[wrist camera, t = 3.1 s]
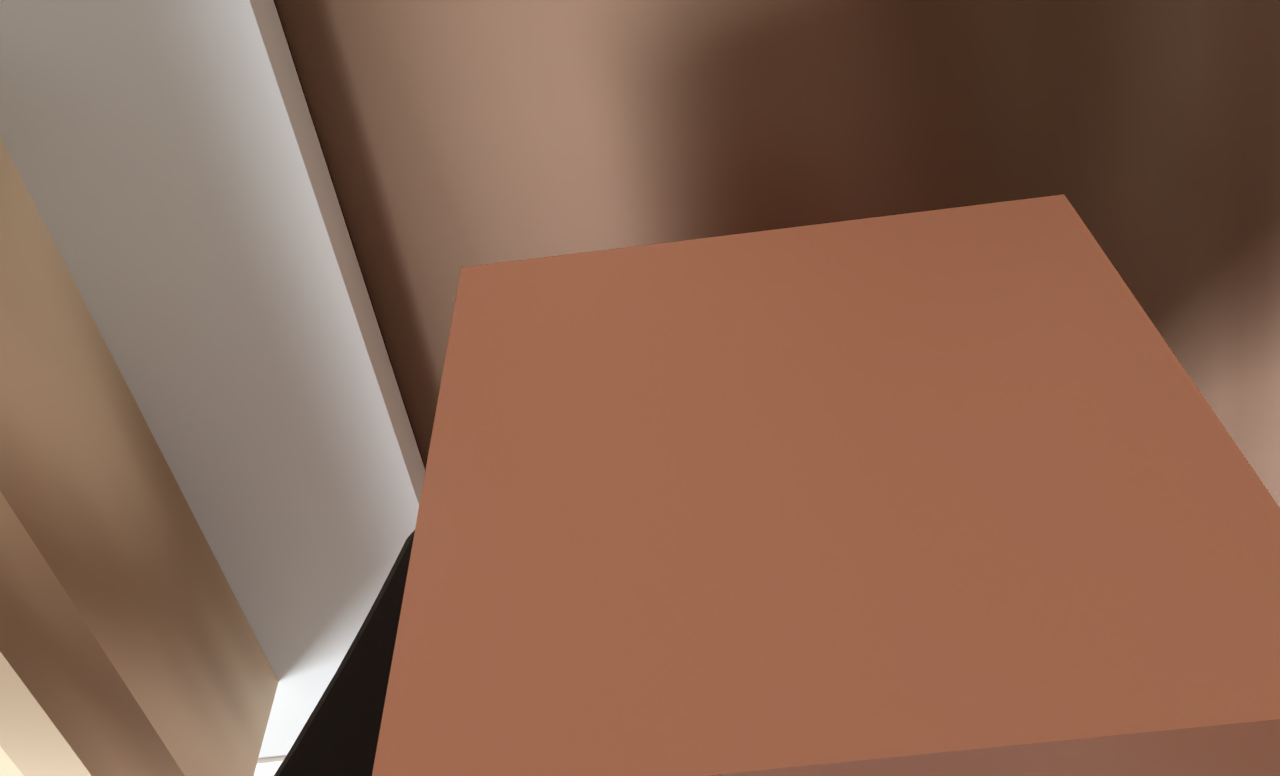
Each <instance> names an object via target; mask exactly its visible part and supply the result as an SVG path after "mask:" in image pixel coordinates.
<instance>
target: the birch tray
mask: <svg viewBox="0 0 1280 776" xmlns="http://www.w3.org/2000/svg"><path fill="white" fill-rule="evenodd" d="M278 682H279V681H278V679H277V677H276V675H275V673H274V671H273V669H272V667H271V665H270V663H269V662H268V660H267V658H266V656H265V654H264V652H263V650H262V648H261V646H260V644H259V642H258V640H257V638H256V636H255V634H254V632H253V630H252V628H251V626H250V624H249V622H248V620H247V618H246V617H245V615H244V613H243V611H242V609H241V607H240V605H239V603H238V601H237V599H236V597H235V595H234V593H233V591H232V589H231V587H230V585H229V583H228V581H227V579H226V577H225V575H224V574H223V572H222V570H221V568H220V566H219V564H218V562H217V560H216V558H215V556H214V554H213V552H212V550H211V548H210V546H209V544H208V542H207V540H206V538H205V536H204V534H203V532H202V531H201V529H200V527H199V525H198V523H197V521H196V519H195V517H194V515H193V513H192V511H191V509H190V507H189V505H188V503H187V501H186V499H185V497H184V495H183V493H182V491H181V489H180V487H179V486H178V484H177V482H176V480H175V478H174V476H173V474H172V472H171V470H170V468H169V466H168V464H167V462H166V460H165V458H164V456H163V454H162V452H161V450H160V448H159V446H158V444H157V443H156V441H155V439H154V437H153V435H152V433H151V431H150V429H149V427H148V425H147V423H146V421H145V419H144V417H143V415H142V413H141V411H140V409H139V407H138V405H137V403H136V401H135V399H134V398H133V396H132V394H131V392H130V390H129V388H128V386H127V384H126V382H125V380H124V378H123V376H122V374H121V372H120V370H119V368H118V366H117V364H116V362H115V360H114V358H113V356H112V355H111V353H110V351H109V349H108V347H107V345H106V343H105V341H104V339H103V337H102V335H101V333H100V331H99V329H98V327H97V325H96V323H95V321H94V319H93V317H92V315H91V313H90V311H89V310H88V308H87V306H86V304H85V302H84V300H83V298H82V296H81V294H80V292H79V290H78V288H77V286H76V284H75V282H74V280H73V278H72V276H71V274H70V272H69V270H68V268H67V267H66V265H65V263H64V261H63V259H62V257H61V255H60V253H59V251H58V249H57V247H56V245H55V243H54V241H53V239H52V237H51V235H50V233H49V231H48V229H47V227H46V225H45V223H44V222H43V220H42V218H41V216H40V214H39V212H38V210H37V208H36V206H35V204H34V202H33V200H32V198H31V196H30V194H29V192H28V190H27V188H26V186H25V184H24V182H23V180H22V179H21V177H20V175H19V173H18V171H17V169H16V167H15V165H14V163H13V161H12V159H11V157H10V155H9V153H8V151H7V149H6V147H5V145H4V143H3V141H2V139H1V137H0V776H254V772H255V768H256V765H257V761H258V757H259V753H260V750H261V746H262V742H263V738H264V735H265V731H266V727H267V723H268V720H269V716H270V712H271V708H272V705H273V701H274V697H275V693H276V689H277V686H278Z"/></svg>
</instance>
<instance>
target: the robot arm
mask: <svg viewBox="0 0 1280 776" xmlns="http://www.w3.org/2000/svg"><path fill="white" fill-rule="evenodd" d="M414 533H415V530H414V531H413V532H412V533H411V534H410V536H409V537H408V538H407V539H406V541H405V543H404V545H403V547H402V549H401V551H400V553H399V555H398V557H397V559H396V561H395V563H394V565H393V567H392V569H391V571H390V573H389V575H388V577H387V579H386V581H385V583H384V584H383V586H382V588H381V590H380V592H379V594H378V596H377V598H376V600H375V602H374V604H373V606H372V607H371V609H370V611H369V613H368V615H367V617H366V619H365V621H364V622H363V624H362V626H361V628H360V630H359V632H358V633H357V635H356V637H355V639H354V641H353V642H352V644H351V646H350V648H349V650H348V651H347V653H346V655H345V657H344V659H343V660H342V662H341V664H340V666H339V668H338V669H337V671H336V673H335V675H334V676H333V678H332V680H331V681H330V683H329V685H328V687H327V688H326V690H325V692H324V693H323V695H322V697H321V698H320V700H319V702H318V703H317V705H316V707H315V709H314V710H313V712H312V714H311V715H310V717H309V719H308V720H307V722H306V724H305V725H304V727H303V729H302V731H301V732H300V734H299V736H298V737H297V739H296V741H295V742H294V744H293V746H292V747H291V749H290V751H289V752H288V754H287V756H286V757H285V759H284V760H283V762H282V764H281V765H280V767H279V768H278V770H277V772H276V773H275V775H274V776H372V772H373V767H374V761H375V755H376V750H377V744H378V738H379V732H380V727H381V721H382V715H383V710H384V704H385V698H386V693H387V687H388V681H389V676H390V670H391V664H392V658H393V653H394V647H395V641H396V636H397V630H398V624H399V619H400V613H401V607H402V601H403V596H404V590H405V584H406V579H407V573H408V567H409V562H410V556H411V550H412V545H413V539H414Z"/></svg>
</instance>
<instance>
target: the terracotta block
mask: <svg viewBox="0 0 1280 776" xmlns="http://www.w3.org/2000/svg"><path fill="white" fill-rule="evenodd" d="M372 776H1280V508H1279V506H1278V505H1277V504H1276V502H1275V501H1274V499H1273V498H1272V496H1271V495H1270V493H1269V492H1268V490H1267V489H1266V488H1265V486H1264V485H1263V483H1262V482H1261V480H1260V479H1259V477H1258V476H1257V474H1256V473H1255V471H1254V470H1253V469H1252V467H1251V466H1250V464H1249V463H1248V461H1247V460H1246V458H1245V457H1244V455H1243V454H1242V453H1241V451H1240V450H1239V448H1238V447H1237V445H1236V444H1235V442H1234V441H1233V439H1232V438H1231V437H1230V435H1229V434H1228V432H1227V431H1226V429H1225V428H1224V426H1223V425H1222V423H1221V422H1220V420H1219V419H1218V418H1217V416H1216V415H1215V413H1214V412H1213V410H1212V409H1211V407H1210V406H1209V404H1208V403H1207V402H1206V400H1205V399H1204V397H1203V396H1202V394H1201V393H1200V391H1199V390H1198V388H1197V387H1196V386H1195V384H1194V383H1193V381H1192V380H1191V378H1190V377H1189V375H1188V374H1187V372H1186V371H1185V369H1184V368H1183V367H1182V365H1181V364H1180V362H1179V361H1178V359H1177V358H1176V356H1175V355H1174V353H1173V352H1172V351H1171V349H1170V348H1169V346H1168V345H1167V343H1166V342H1165V340H1164V339H1163V337H1162V336H1161V335H1160V333H1159V332H1158V330H1157V329H1156V327H1155V326H1154V324H1153V323H1152V321H1151V320H1150V318H1149V317H1148V316H1147V314H1146V313H1145V311H1144V310H1143V308H1142V307H1141V305H1140V304H1139V302H1138V301H1137V300H1136V298H1135V297H1134V295H1133V294H1132V292H1131V291H1130V289H1129V288H1128V286H1127V285H1126V284H1125V282H1124V281H1123V279H1122V278H1121V276H1120V275H1119V273H1118V272H1117V270H1116V269H1115V267H1114V266H1113V265H1112V263H1111V262H1110V260H1109V259H1108V257H1107V256H1106V254H1105V253H1104V251H1103V250H1102V249H1101V247H1100V246H1099V244H1098V243H1097V241H1096V240H1095V238H1094V237H1093V235H1092V234H1091V233H1090V231H1089V230H1088V228H1087V227H1086V225H1085V224H1084V222H1083V221H1082V219H1081V218H1080V216H1079V215H1078V214H1077V212H1076V211H1075V209H1074V208H1073V206H1072V205H1071V203H1070V202H1069V200H1068V199H1067V198H1066V196H1065V195H1064V194H1063V195H1055V196H1047V197H1038V198H1030V199H1022V200H1014V201H1005V202H997V203H989V204H981V205H972V206H964V207H956V208H948V209H939V210H931V211H923V212H915V213H906V214H898V215H890V216H882V217H873V218H865V219H857V220H849V221H841V222H832V223H824V224H816V225H808V226H799V227H791V228H783V229H775V230H766V231H758V232H750V233H742V234H733V235H725V236H717V237H709V238H700V239H692V240H684V241H676V242H667V243H659V244H651V245H643V246H634V247H626V248H618V249H610V250H601V251H593V252H585V253H577V254H568V255H560V256H552V257H544V258H536V259H527V260H519V261H511V262H503V263H494V264H486V265H478V266H470V267H461V271H460V277H459V283H458V288H457V294H456V300H455V305H454V311H453V317H452V322H451V328H450V334H449V339H448V345H447V351H446V357H445V362H444V368H443V374H442V379H441V385H440V391H439V396H438V402H437V408H436V414H435V419H434V425H433V431H432V436H431V442H430V448H429V453H428V459H427V465H426V470H425V476H424V482H423V488H422V493H421V499H420V505H419V510H418V516H417V522H416V527H415V533H414V539H413V545H412V550H411V556H410V562H409V567H408V573H407V579H406V584H405V590H404V596H403V601H402V607H401V613H400V619H399V624H398V630H397V636H396V641H395V647H394V653H393V658H392V664H391V670H390V676H389V681H388V687H387V693H386V698H385V704H384V710H383V715H382V721H381V727H380V732H379V738H378V744H377V750H376V755H375V761H374V767H373V772H372Z"/></svg>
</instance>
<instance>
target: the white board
mask: <svg viewBox="0 0 1280 776" xmlns="http://www.w3.org/2000/svg"><path fill="white" fill-rule="evenodd" d="M0 137H1V139H2V141H3V143H4V145H5V147H6V149H7V151H8V153H9V155H10V157H11V159H12V161H13V163H14V165H15V167H16V169H17V171H18V173H19V175H20V177H21V179H22V180H23V182H24V184H25V186H26V188H27V190H28V192H29V194H30V196H31V198H32V200H33V202H34V204H35V206H36V208H37V210H38V212H39V214H40V216H41V218H42V220H43V222H44V223H45V225H46V227H47V229H48V231H49V233H50V235H51V237H52V239H53V241H54V243H55V245H56V247H57V249H58V251H59V253H60V255H61V257H62V259H63V261H64V263H65V265H66V267H67V268H68V270H69V272H70V274H71V276H72V278H73V280H74V282H75V284H76V286H77V288H78V290H79V292H80V294H81V296H82V298H83V300H84V302H85V304H86V306H87V308H88V310H89V311H90V313H91V315H92V317H93V319H94V321H95V323H96V325H97V327H98V329H99V331H100V333H101V335H102V337H103V339H104V341H105V343H106V345H107V347H108V349H109V351H110V353H111V355H112V356H113V358H114V360H115V362H116V364H117V366H118V368H119V370H120V372H121V374H122V376H123V378H124V380H125V382H126V384H127V386H128V388H129V390H130V392H131V394H132V396H133V398H134V399H135V401H136V403H137V405H138V407H139V409H140V411H141V413H142V415H143V417H144V419H145V421H146V423H147V425H148V427H149V429H150V431H151V433H152V435H153V437H154V439H155V441H156V443H157V444H158V446H159V448H160V450H161V452H162V454H163V456H164V458H165V460H166V462H167V464H168V466H169V468H170V470H171V472H172V474H173V476H174V478H175V480H176V482H177V484H178V486H179V487H180V489H181V491H182V493H183V495H184V497H185V499H186V501H187V503H188V505H189V507H190V509H191V511H192V513H193V515H194V517H195V519H196V521H197V523H198V525H199V527H200V529H201V531H202V532H203V534H204V536H205V538H206V540H207V542H208V544H209V546H210V548H211V550H212V552H213V554H214V556H215V558H216V560H217V562H218V564H219V566H220V568H221V570H222V572H223V574H224V575H225V577H226V579H227V581H228V583H229V585H230V587H231V589H232V591H233V593H234V595H235V597H236V599H237V601H238V603H239V605H240V607H241V609H242V611H243V613H244V615H245V617H246V618H247V620H248V622H249V624H250V626H251V628H252V630H253V632H254V634H255V636H256V638H257V640H258V642H259V644H260V646H261V648H262V650H263V652H264V654H265V656H266V658H267V660H268V662H269V663H270V665H271V667H272V669H273V671H274V673H275V675H276V677H277V679H278V681H279V682H278V686H277V689H276V693H275V697H274V701H273V705H272V708H271V712H270V716H269V720H268V723H267V727H266V731H265V735H264V738H263V742H262V746H261V750H260V753H259V757H258V761H257V765H256V768H255V772H254V776H274V775H275V773H276V772H277V770H278V768H279V767H280V765H281V764H282V762H283V760H284V759H285V757H286V756H287V754H288V752H289V751H290V749H291V747H292V746H293V744H294V742H295V741H296V739H297V737H298V736H299V734H300V732H301V731H302V729H303V727H304V725H305V724H306V722H307V720H308V719H309V717H310V715H311V714H312V712H313V710H314V709H315V707H316V705H317V703H318V702H319V700H320V698H321V697H322V695H323V693H324V692H325V690H326V688H327V687H328V685H329V683H330V681H331V680H332V678H333V676H334V675H335V673H336V671H337V669H338V668H339V666H340V664H341V662H342V660H343V659H344V657H345V655H346V653H347V651H348V650H349V648H350V646H351V644H352V642H353V641H354V639H355V637H356V635H357V633H358V632H359V630H360V628H361V626H362V624H363V622H364V621H365V619H366V617H367V615H368V613H369V611H370V609H371V607H372V606H373V604H374V602H375V600H376V598H377V596H378V594H379V592H380V590H381V588H382V586H383V584H384V583H385V581H386V579H387V577H388V575H389V573H390V571H391V569H392V567H393V565H394V563H395V561H396V559H397V557H398V555H399V553H400V551H401V549H402V547H403V545H404V543H405V541H406V539H407V538H408V537H409V536H410V534H411V533H412V532H413V531H414V530H415V527H416V522H417V516H418V510H419V505H420V499H421V493H422V488H423V482H424V476H425V468H424V465H423V462H422V459H421V456H420V453H419V450H418V447H417V444H416V441H415V438H414V434H413V431H412V428H411V425H410V422H409V419H408V416H407V413H406V410H405V407H404V403H403V400H402V397H401V394H400V391H399V388H398V385H397V382H396V379H395V376H394V372H393V369H392V366H391V363H390V360H389V357H388V354H387V351H386V348H385V345H384V341H383V338H382V335H381V332H380V329H379V326H378V323H377V320H376V317H375V314H374V310H373V307H372V304H371V301H370V298H369V295H368V292H367V289H366V286H365V283H364V280H363V276H362V273H361V270H360V267H359V264H358V261H357V258H356V255H355V252H354V249H353V245H352V242H351V239H350V236H349V233H348V230H347V227H346V224H345V221H344V218H343V214H342V211H341V208H340V205H339V202H338V199H337V196H336V193H335V190H334V187H333V183H332V180H331V177H330V174H329V171H328V168H327V165H326V162H325V159H324V156H323V153H322V149H321V146H320V143H319V140H318V137H317V134H316V131H315V128H314V125H313V122H312V118H311V115H310V112H309V109H308V106H307V103H306V100H305V97H304V94H303V91H302V87H301V84H300V81H299V78H298V75H297V72H296V69H295V66H294V63H293V60H292V56H291V53H290V50H289V47H288V44H287V41H286V38H285V35H284V32H283V29H282V26H281V22H280V19H279V16H278V13H277V10H276V7H275V4H274V1H273V0H0Z"/></svg>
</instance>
